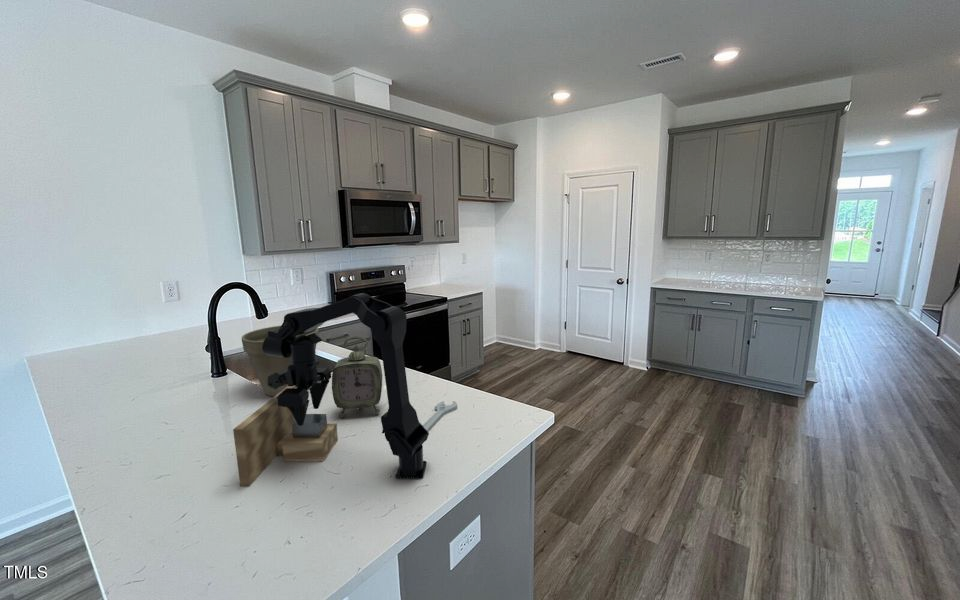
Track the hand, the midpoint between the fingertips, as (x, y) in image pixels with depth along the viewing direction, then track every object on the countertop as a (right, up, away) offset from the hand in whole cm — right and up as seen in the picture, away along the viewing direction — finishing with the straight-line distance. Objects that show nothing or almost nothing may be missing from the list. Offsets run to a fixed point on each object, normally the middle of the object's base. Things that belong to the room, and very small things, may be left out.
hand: (308, 416), depth 103 cm
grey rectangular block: (0, -8, +1) cm, 9 cm away
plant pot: (-26, -2, +42) cm, 50 cm away
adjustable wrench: (+30, -7, +18) cm, 36 cm away
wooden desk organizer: (-2, -9, +2) cm, 10 cm away
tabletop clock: (+6, -6, +23) cm, 25 cm away
